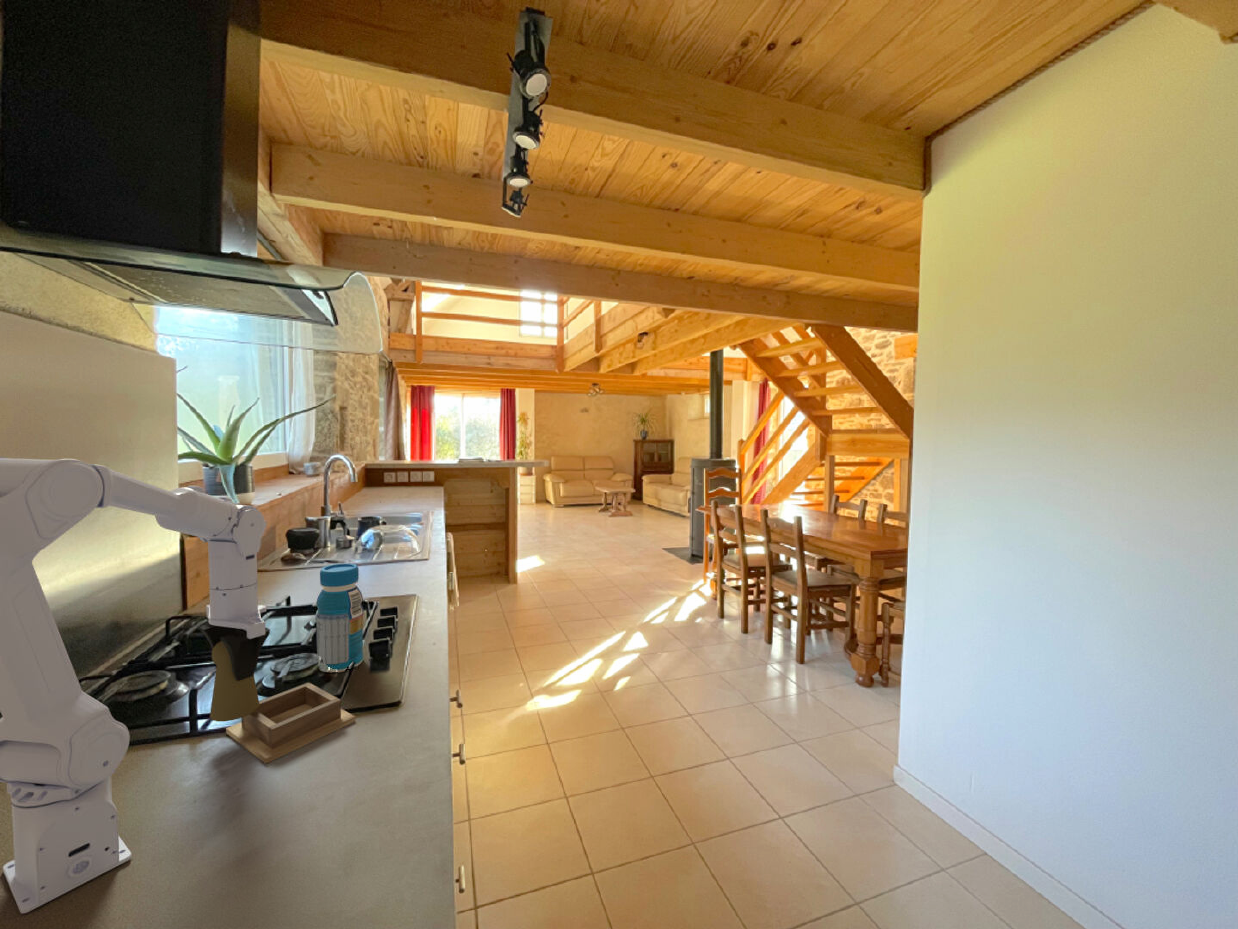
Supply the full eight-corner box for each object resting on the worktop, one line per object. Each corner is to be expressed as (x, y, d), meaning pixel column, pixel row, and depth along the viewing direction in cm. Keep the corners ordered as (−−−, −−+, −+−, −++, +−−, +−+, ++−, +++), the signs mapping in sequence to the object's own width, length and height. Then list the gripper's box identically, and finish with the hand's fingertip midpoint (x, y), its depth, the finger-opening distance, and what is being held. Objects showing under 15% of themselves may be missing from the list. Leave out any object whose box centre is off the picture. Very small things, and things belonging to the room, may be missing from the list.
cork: (269, 701, 80) (267, 633, 79) (236, 723, 74) (234, 650, 73) (233, 697, 80) (232, 630, 79) (198, 719, 74) (196, 647, 73)
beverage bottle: (320, 679, 96) (319, 575, 95) (312, 663, 103) (311, 565, 102) (368, 667, 102) (367, 568, 101) (358, 652, 108) (357, 559, 107)
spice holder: (355, 721, 83) (354, 698, 83) (265, 764, 72) (265, 738, 72) (313, 697, 90) (313, 676, 90) (226, 733, 79) (225, 709, 79)
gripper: (287, 586, 75) (288, 675, 76) (242, 570, 83) (244, 651, 84) (231, 599, 69) (233, 695, 70) (188, 580, 77) (191, 667, 78)
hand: (235, 672), depth 77 cm, fingers closed on cork, 5 cm apart
